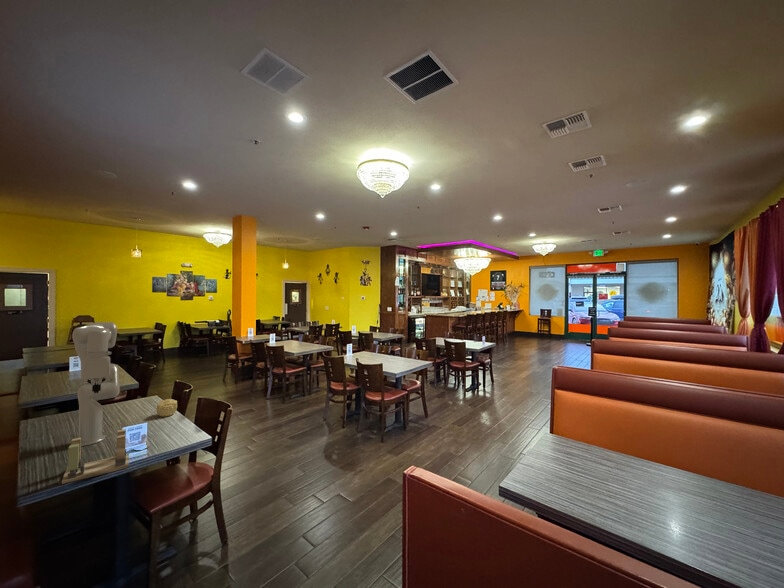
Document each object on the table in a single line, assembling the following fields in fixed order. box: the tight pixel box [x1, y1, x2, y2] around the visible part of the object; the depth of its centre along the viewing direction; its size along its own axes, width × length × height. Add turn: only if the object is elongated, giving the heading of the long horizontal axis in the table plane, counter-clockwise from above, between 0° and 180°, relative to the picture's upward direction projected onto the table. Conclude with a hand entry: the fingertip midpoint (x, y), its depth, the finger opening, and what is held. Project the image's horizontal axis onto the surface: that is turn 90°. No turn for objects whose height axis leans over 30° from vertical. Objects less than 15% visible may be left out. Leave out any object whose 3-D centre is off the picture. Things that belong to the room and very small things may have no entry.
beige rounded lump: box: [156, 398, 178, 418], centre depth 218 cm, size 11×12×11 cm
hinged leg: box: [67, 444, 79, 473], centre depth 141 cm, size 4×3×13 cm
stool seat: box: [61, 428, 130, 485], centre depth 149 cm, size 14×22×14 cm, turn 129°
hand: (96, 392), depth 157 cm, fingers closed
